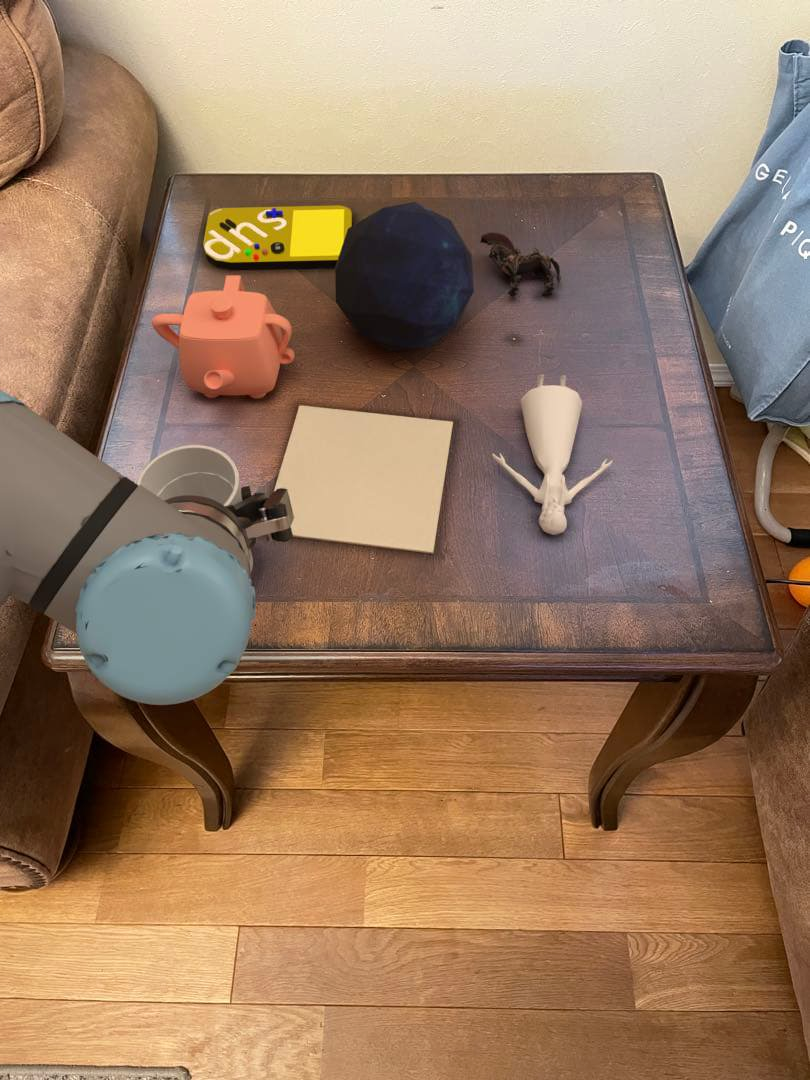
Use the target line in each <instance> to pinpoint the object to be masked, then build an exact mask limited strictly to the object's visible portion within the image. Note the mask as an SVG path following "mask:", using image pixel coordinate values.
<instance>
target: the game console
mask: <svg viewBox="0 0 810 1080" xmlns="http://www.w3.org/2000/svg"><path fill="white" fill-rule="evenodd" d="M351 226H353V212H352V210H351V209H350V208H349V207H347V206H345V205H297V206H296V205H295V206H292V205H291V206H255V207H251V206H249V207H248V206H247V207H222V208H221V207H220V208H217V209H213V210H211V211H210V212H209V213H208V215H207V220H206V226H205V232H204V238H203V242H202V244H203V245H202V246H203V249H204V252H205V257H206V261H207V262H208V263H209V264H210V265H212V266H214V267H215V268H217V269H222V270H227V271H258V270H259V271H260V270H261V271H262V270H263V271H264V270H305V269H307V270H308V269H335V266H336V263H337V260H338V257H339V254H340V251H341V248H342V245H343V242H344V239H345V236H346V233H347V230H348V228H350V227H351Z"/></svg>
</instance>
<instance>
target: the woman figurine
mask: <svg viewBox="0 0 810 1080" xmlns="http://www.w3.org/2000/svg"><path fill="white" fill-rule="evenodd" d="M544 378H545V374H538V375H537V378H536V379H537V380H536V387H533V388H532V389H529V390H528V391H527V392H526V393H525V394H524V395H523V396H522V397H521V398H520V400H519V401H520V405H521V410H522V411H521V412H522V417H523V422H524V423H523V424H524V428H525V433H526V437H527V440H528V443H529V446H530V449H531V454H532V457H533V460H534V462H535V464H536V467H538V468H539V469H540V470H541V471H542V474H544V477H543V479H542V482H541V485H540V487H539V488H537V487H536V486H534V485H533V484H532V483H531V482H530V481H529V480H528V479H526V478H525V477H524V476H523V475H521V474H520V473H518V472H516V471H515V470H514V469H513V468H512V467H510V466H509V465H508V464H507V463H506V460H505V458H504V456H503V455H502V453H499V456H500V457H498V456H497V455H496V454H495V453H492V454H491V457H492V458H493V459H494V460H495V461H496V462H497V463H498V464H499V465H500V466H501V467H502V468H503V469H504V470H505V471H506V472H507V473H508V474H510V475H511V476H512V477H513V478H514V480H516V481H517V483H519V484H520V485H521V486H523V487H524V489H526V490H527V491H528V492H529V493H530V494H531V495H532V496H533V498H534V499H533V501H534V502H535V503H539V504H540V505H542V506H541V513H540V515H539V518H538V524H539V526H540V528H541V529H542V531H543V532H545V533H547V534H550V535H553V536H555V535H559V534H562V533H564V532H565V530H566V529H567V526H568V525H567V521H568V520H567V518H566V516H565V506H566V505H569V504H571V503H572V502H573V500H572V499H574V497H575V496H576V495H577V493H579V492H580V491H581V490H582V489H583V488H585V487H586V486H588V485H589V484H590V483H591V482H592V481H593V480H594V479H596V478H597V477H599V476H600V475H601V474H602V473H603V472H604V471H606V470H607V469H608V468H609V467H610V466H611V465H612V464H613V462H614V461H613V459H612V460H610V461H609V462H607V461H608V459H607V458H606V459H605V460H604V461H603V462H602V463H601V465H600V467H599V468H598V469H597V470H596V471H595V472H594V473H592V474H591V475H589V476H587V477H585V478H583V479H581V480H580V481H579V482H577V484H575V486H573V487H572V488H570V489H569V490H568V487H567V484H566V477H565V474H564V471H565V470H566V469H567V467H568V466H569V463H570V459H571V455H572V450H573V446H574V442H575V437H576V434H577V429H578V425H579V422H580V421H579V420H580V415H581V412H582V407H583V400H582V399H581V397H580V394H579V392H577V391H576V390H574V389H571V388H570V387H568V386H566V381H567V376H566V375H560V377H559V385H555V384H554V385H553V384H552V385H544ZM606 462H607V463H606Z"/></svg>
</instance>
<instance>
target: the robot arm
mask: <svg viewBox="0 0 810 1080" xmlns="http://www.w3.org/2000/svg"><path fill="white" fill-rule="evenodd" d="M240 488H241V495H242V501H241V502H240V503H238V504H236V505H234V506H233V505H228V506H224V505H222V504H220V503H219V502H217V501H215V500H212V499H209V498H206V497H202V496H195V495H184V496H177V497H173V498H170V499H167V500H165V501H163V500H162V499H160V498H159V497H157V496H156V495H155V494H153V493H152V492H150V491H149V490H147V489H146V488H144V487H143V486H141V485H139V486H138V485H137V482H134V481H133V480H131V479H130V478H128V477H127V476H124V475H123V474H122V473H120V472H118V471H117V470H116V469H115V468H113V467H112V466H110V465H109V464H107V463H106V462H105V461H103V460H102V459H100V458H99V457H98V456H96V455H94V454H93V453H92V452H90V451H89V450H87V449H86V448H85V447H83V446H82V445H80V444H79V443H78V442H76V441H75V440H74V439H72V438H71V437H70V436H68V435H67V434H65V433H64V432H62V430H60V429H59V428H57V427H56V426H54V425H53V424H52V423H50V422H49V421H48V420H47V419H45V418H43V417H42V416H40V415H39V414H38V413H36V412H35V411H34V410H32V409H31V408H30V407H29V405H27V404H25V402H23V401H21V400H19V399H18V397H15V396H13V395H10V394H9V393H7V392H6V391H4V390H2V389H0V608H2V606H3V605H4V603H5V602H6V601H7V600H8V598H9V597H12V598H13V599H16V600H18V601H21V602H23V603H25V604H27V605H28V606H29V608H31V609H33V610H35V611H36V612H37V613H40V614H41V615H45V616H47V618H49V619H51V620H53V621H55V622H57V624H60V625H61V626H63V627H64V628H65V629H68V630H70V631H71V632H73V633H74V634H76V640H77V644H78V647H79V651H80V654H81V655H82V657H83V659H84V661H85V662H86V664H87V667H88V668H89V669H90V671H91V672H92V674H93V675H94V676H95V677H96V678H97V679H98V681H99V682H100V683H102V684H103V685H104V686H105V688H107V689H108V690H110V691H112V692H113V693H115V694H117V695H118V696H120V697H122V698H125V699H127V700H130V701H134V702H137V703H141V704H144V705H145V704H148V705H154V706H169V705H176V704H177V705H178V704H182V703H187V702H189V701H192V700H195V699H198V698H200V697H202V696H204V695H206V694H208V693H210V692H211V691H213V690H214V689H215V688H217V687H218V686H220V685H221V684H222V683H223V682H224V681H225V680H226V679H227V678H228V677H229V676H230V675H231V674H232V673H233V672H234V671H235V670H236V669H237V668H238V665H239V663H240V662H241V659H242V658H243V657H244V654H245V651H246V650H247V648H248V647H247V646H248V643H249V640H250V634H251V632H252V630H253V629H252V628H253V621H254V620H255V619H256V608H257V607H256V606H257V595H256V589H255V587H254V586H252V582H253V581H252V578H251V573H250V555H249V549H250V550H251V549H252V548H253V547H254V546H255V545H256V543H257V538H259V537H262V536H265V540H266V542H267V543H268V542H274V541H275V542H277V543H280V542H281V543H287V542H289V541H290V540H293V538H294V537H293V533H292V529H291V524H292V522H293V519H294V515H293V511H292V507H291V503H290V498H289V494H288V490H287V489H285V488H279V489H277V490H276V491H274V490H273V491H272V492H271V494H270V495H269V496H268V497H267V496H266V493H265V492H261V491H260V492H255V493H254V494H252V491H251V487H250V485H246V486H242V487H241V486H240Z"/></svg>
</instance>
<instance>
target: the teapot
mask: <svg viewBox="0 0 810 1080" xmlns="http://www.w3.org/2000/svg"><path fill="white" fill-rule="evenodd" d="M223 286H224V287H223V290H204V291H197V292H193V293H191V294H190V295H189V297H188V298H187V302H186V305H185V306H184V307H185V308H184V310H183V314H181V313H159V314H156V315H154V316H153V317H152V319H151V326H152V328H153V329H154V330H155V332H156V333H157V334H158V335H159V337H161V338H162V339H163V340H165V341H166V342H167V343H169V344H170V345H172V346H173V347H174V348H176V349H178V359H179V365H180V371H181V375H182V378H183V381H184V382H185V384H186V385H187V386H188V387H189V388H190V389H191V390H193V391H194V392H197V393H203V394H204V396H205V397H207V398H216V397H219V396H246V395H247V396H249V397H250V398H252V399H262V398H263V397H265V396H266V394H267V393H269V392H271V391H273V390H274V388H275V387H276V383H277V381H278V375H279V372H280V367H281V364H282V365H288V364H291V363H292V362H293V361H294V359H295V352H294V350H293V349H292V348H290V347H287V346H288V344H289V342H290V341H291V337H292V333H293V330H292V325H291V323H290V321H289V320H288V319H287V318H286V317H284V316H282V315H280V314H277V313H276V312H275V309H274V307H273V306H272V304H271V302H270V300H269V299H268V296H267V295H265V294H262V293H259V292H253V291H245V287H244V283H243V278H242V275H239V274H238V275H236V274H235V275H227V274H226V276H225V281H224V285H223ZM170 326H179V334H177V333H176V332H175V331H174V330H173V329H172V328H171V327H170ZM282 330H283V331H284V334H283V332H282Z"/></svg>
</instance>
